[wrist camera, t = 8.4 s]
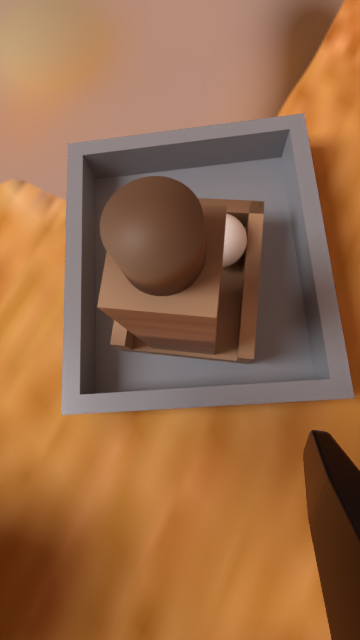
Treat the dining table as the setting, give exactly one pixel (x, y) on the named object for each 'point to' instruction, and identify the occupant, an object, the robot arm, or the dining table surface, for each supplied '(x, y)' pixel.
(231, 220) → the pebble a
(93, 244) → the bin
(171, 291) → the brown wooden box
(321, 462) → the robot arm
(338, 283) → the dining table surface
